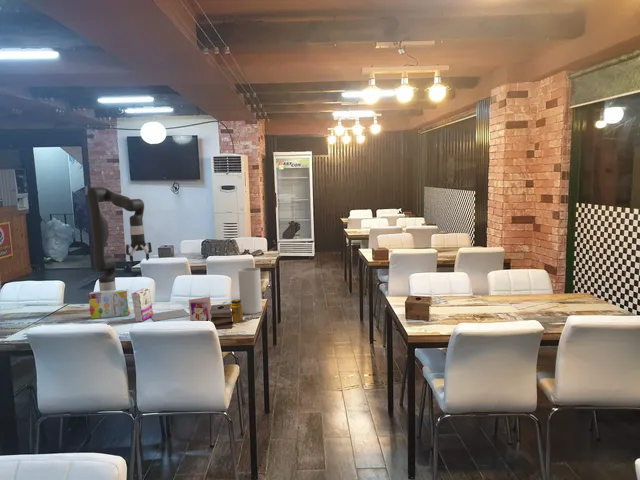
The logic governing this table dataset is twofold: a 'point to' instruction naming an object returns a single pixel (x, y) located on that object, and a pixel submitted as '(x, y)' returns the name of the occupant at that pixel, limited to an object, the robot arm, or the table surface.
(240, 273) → the cylinder vase
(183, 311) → the mat
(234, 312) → the condiment
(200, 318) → the greeting card
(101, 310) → the snack box
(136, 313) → the candy bar box
